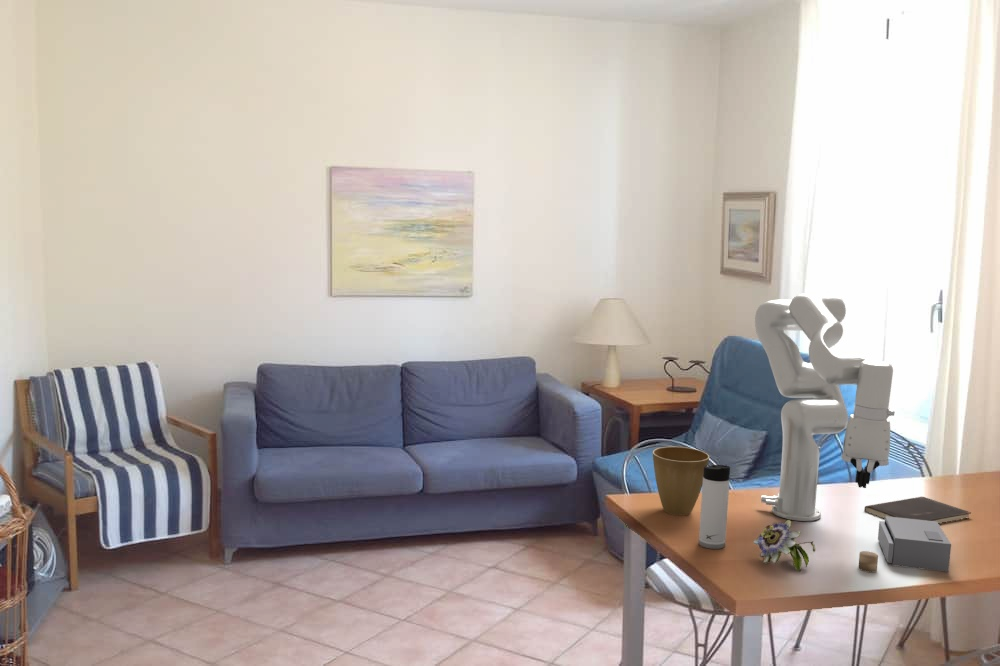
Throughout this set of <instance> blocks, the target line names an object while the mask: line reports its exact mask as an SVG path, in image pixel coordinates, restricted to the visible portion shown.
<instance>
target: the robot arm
mask: <svg viewBox="0 0 1000 666" xmlns="http://www.w3.org/2000/svg"><path fill="white" fill-rule="evenodd" d="M846 311H847V309H846V304H845V302H844V301H843V299H842V298H841V297H840V296H839V295H837V294H835V293H831V292H830V293H828V292H826V293H823V292H819V293H818V292H807V293H805V292H804V293H800V294H798V295H797V294H796V296H794V297H793V298H791V299H772V300H768V301H765V302H763V303H761V304H760V305H759V306H758V307H757V309H756V311H755V315H754V327H755V332H756V335H757V338H758V340H759V342H760V344H761V346H762V349H764V351H765V353H766V355H767V358H768V362H769V366H770V369H771V372H772V374H773V377H774V380H775V381H774V382H775V384H776V387H777V389H778V390H777V391H779V393H780V395H781V396H783V397H785V398H791V400H789V401H787V402H786V403H784V405H783V406H782V408H781V411H780V419H781V421H780V422H781V428H782V429H781V430H782V448H781V451H782V452H781V463H780V478H779V491H778V492H777V494H776V495H773V496H768V495H762V494H761V496H760V497H761V498H760V502H761V503H764V504H765V505H766V506H767V505H768V506H772V507H771V512H772V513H773V514H774V515H776V516H777V517H779V518H782V519H787V520H790V521H797V522H798V521H799V522H800V521H801V522H812V521H817V520H819V519H821V516H822V515H821V511H820V510H819V509H817V508H816V504H817V503H816V501H817V491H818V490H817V488H818V476H819V475H818V474H819V466H820V465H819V464H820V448H819V446H818V444H817V442H816V441H815V439H814V435H827V434H828V435H830V434H839V433H841V432H842V431H844V430H845V432H844V436H843V437H844V438H843V445H842V450H843V451H842V454H841V456H840V457H841V460H842V461H844V462H847V463H850V464H852V466H853V467H854V468H855V469H856V471H855V478H854V479H855V483H856V484H857V486H858V488H863V489H866V488H867V485H870V481H871V479H870V478H871V473H873V471H874V470H875V469H877V468H878V467H884V466H889V464H890V461H889V457H890V449H891V448H890V447H891V420H890V418H889V417H890V416H891V417H892V416H895V410H893V409H890V408H889V406H890V400H891V399H890V398H891V390H892V384H893V383H892V382H893V375H894V374H893V373H894V368H893V366H892V364H891V363H889V362H886V361H882V360H879V359H877V358H876V357H875V356H873V355H871V354H869V353H867V354H866V353H834V352H833V351H831V348H832V347H833V346H835V345H836V344H837V343H838V342H839V341H840V340H841V339H842V337H843V334H844V329H843V325H842V321H843V320H844V319H845V317H846ZM785 331H798V332H799V331H801V332H803V334H805V336H806V337H807V338H808V340H809V341H810V342H809V346H808V358H809V362H806V361H805V360H804V359H803V358H802V355H801V352H800V349H799V347H798V345H797V344H796V342H795V341H794V340H793V339H792V338H791V337H790V336H789V335H787V334H786V333H785ZM849 385H851V386H852V385H853V386H856V391H855V400H854V407H853V408H854V409H853V414H852V413H851V414H850V415H848V414H849V413H848V409H847V406H846V403H845V400H844V397H843V394H842V391H841V388H840V386H849ZM793 398H794V399H793ZM863 460H865V461H867V462H866V465H865V466H864V468H863V462H862V461H863Z"/></svg>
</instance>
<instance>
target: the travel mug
mask: <svg viewBox="0 0 1000 666" xmlns="http://www.w3.org/2000/svg"><path fill="white" fill-rule="evenodd" d="M730 473H731V467H730V466H728V465H723V464H712V465H709V466H704V474H703V484H702V488H701V501H700V502H701V503H700V504H701V505H700V518H699V519H700V520H699V533H698V535H699V536H698V545H699V546H700V547H702V548H706V549H709V550H710V549H711V550H721V549H723V548H725V547H726V539H727V538H726V537H727V523H728V522H727V521H728V507H729V494H730V476H731V475H730Z"/></svg>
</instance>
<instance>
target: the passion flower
mask: <svg viewBox="0 0 1000 666" xmlns="http://www.w3.org/2000/svg"><path fill="white" fill-rule="evenodd" d="M791 526H792V520H790V519H787V520H786V521H785V522H784V523H783V522H778V523H773V524H772V525H769V524H767V526H766V527H764V528H763V530H762V532H761V533H759V535H758V538H756V539H754V540H753V541H752V542H753V543H754V544H755V545H758V547H759V550H761V552H760V555H759V557H760V558H764V560H763V562H762V563H763V564H765V563H767V564H768V563H770V562H772V564H776V563H777V562H779V560H780V558H781V555H782V554H784V555H785V556H786V555H789V554H790V557H791V559H792V562H793V565H794V569H795V570H797V571H798V572H800V571H801V569H802V564H803V563H802V559H803V561H804V563H805V568H807V567H808V565H809V562H810V557H809V555H808V553H807V551H805V549H804V548H803V547H802V546H801V545H802V544H803V545H804V544H808V543H809V544H810V545H811V546H812V552H815V551H816V547H815V544H814V541H806V542H801V543H800V542H799V543H797V541H795V539H796V538H798V537H800V535H801V531H798V530H797V531H791V530H790V528H791Z"/></svg>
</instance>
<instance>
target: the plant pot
mask: <svg viewBox="0 0 1000 666" xmlns="http://www.w3.org/2000/svg"><path fill="white" fill-rule="evenodd" d="M652 460H653V470H654V476H655V477H654V478H655V483H656V487H657V493H658V497H659V500H660V504H661V505H662V509H663V511H664V512H665V513H667V514H669V515H673V516H688V515H691V513H692V512H693V510H694V508H695V506H696V504H697V501H698V499H699V496H700V494H701V492H702V484H703V474H704V466H708V465H709V461H710V455H709V454H708V453H707V452H704V451H703V450H701V449H696V448H692V447H684V446H663V447H662V446H661V447H657V448H654V449H653V451H652Z"/></svg>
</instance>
